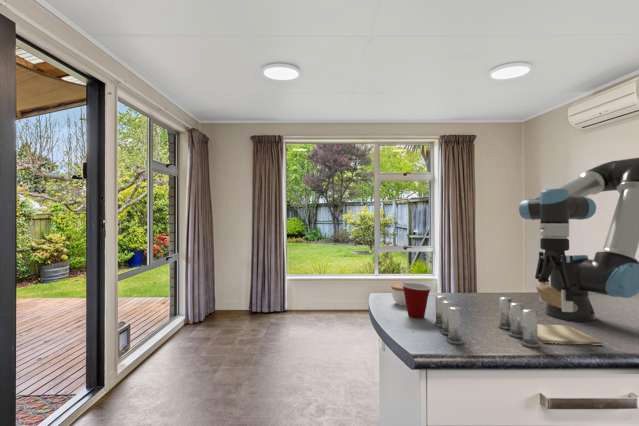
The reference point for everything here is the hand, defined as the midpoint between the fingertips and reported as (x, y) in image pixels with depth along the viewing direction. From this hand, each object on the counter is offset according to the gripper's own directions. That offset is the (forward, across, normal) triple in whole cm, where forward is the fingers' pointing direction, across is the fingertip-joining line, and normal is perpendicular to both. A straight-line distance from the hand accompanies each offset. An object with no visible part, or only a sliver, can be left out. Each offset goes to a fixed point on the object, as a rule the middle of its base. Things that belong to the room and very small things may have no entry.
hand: (555, 306), depth 106 cm
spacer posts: (+9, +2, -23) cm, 25 cm away
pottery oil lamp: (+1, 0, 0) cm, 1 cm away
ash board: (+9, 0, 0) cm, 9 cm away
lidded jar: (+9, -36, -42) cm, 56 cm away
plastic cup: (+9, -16, -40) cm, 44 cm away
